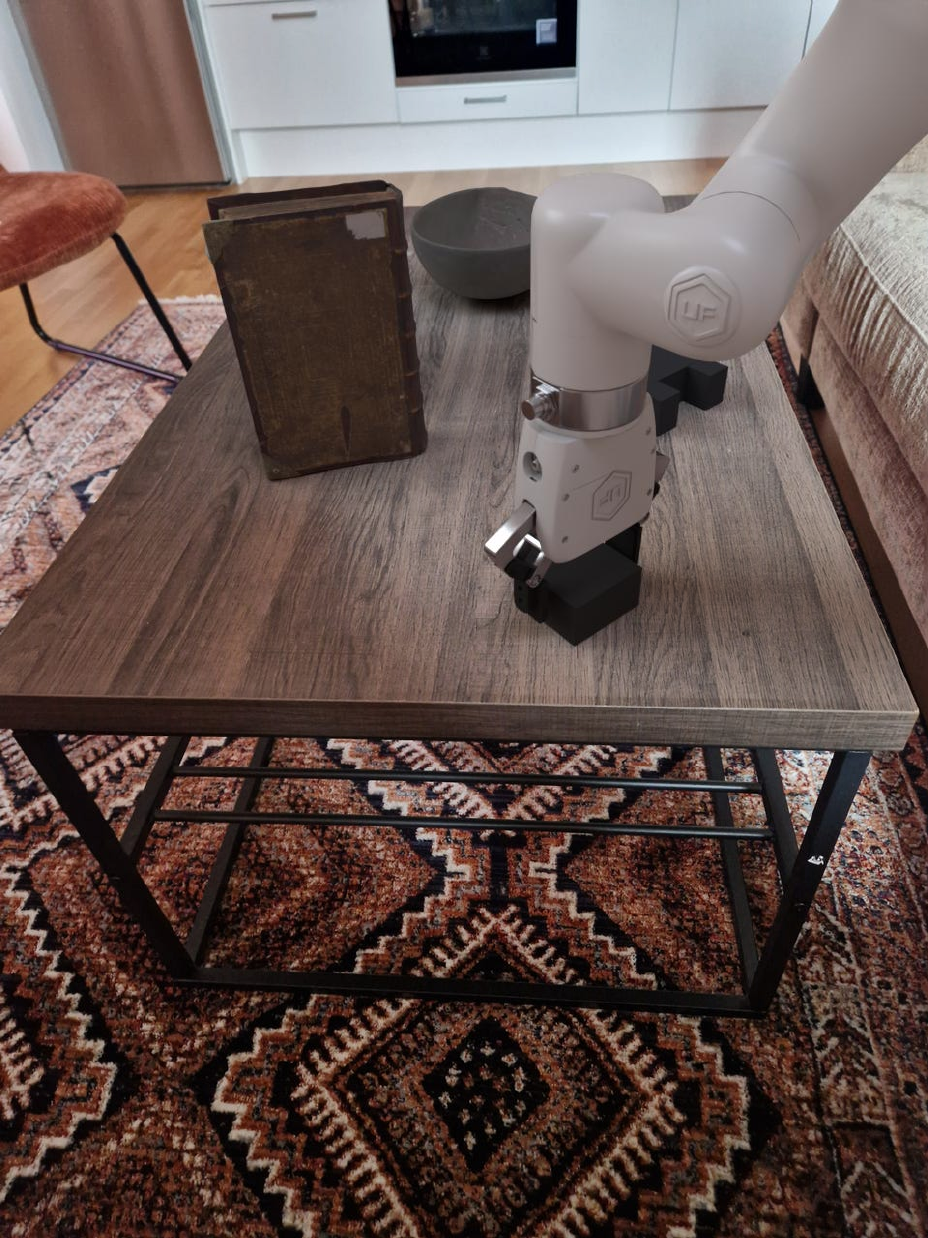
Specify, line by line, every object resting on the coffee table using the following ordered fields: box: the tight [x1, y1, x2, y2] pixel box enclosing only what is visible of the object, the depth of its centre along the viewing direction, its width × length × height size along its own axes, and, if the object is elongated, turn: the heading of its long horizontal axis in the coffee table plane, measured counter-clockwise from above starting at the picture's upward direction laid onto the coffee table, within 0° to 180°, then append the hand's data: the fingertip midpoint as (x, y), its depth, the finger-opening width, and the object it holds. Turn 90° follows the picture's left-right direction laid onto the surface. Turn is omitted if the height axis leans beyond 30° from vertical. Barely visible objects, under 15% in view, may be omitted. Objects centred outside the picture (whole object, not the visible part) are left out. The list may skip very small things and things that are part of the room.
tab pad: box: [525, 542, 643, 647], centre depth 68 cm, size 9×7×4 cm
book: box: [201, 179, 429, 481], centre depth 78 cm, size 17×7×25 cm, turn 95°
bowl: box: [409, 186, 538, 300], centre depth 110 cm, size 20×20×10 cm
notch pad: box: [647, 344, 729, 437], centre depth 90 cm, size 14×10×4 cm
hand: (577, 584), depth 67 cm, fingers open, 9 cm apart
